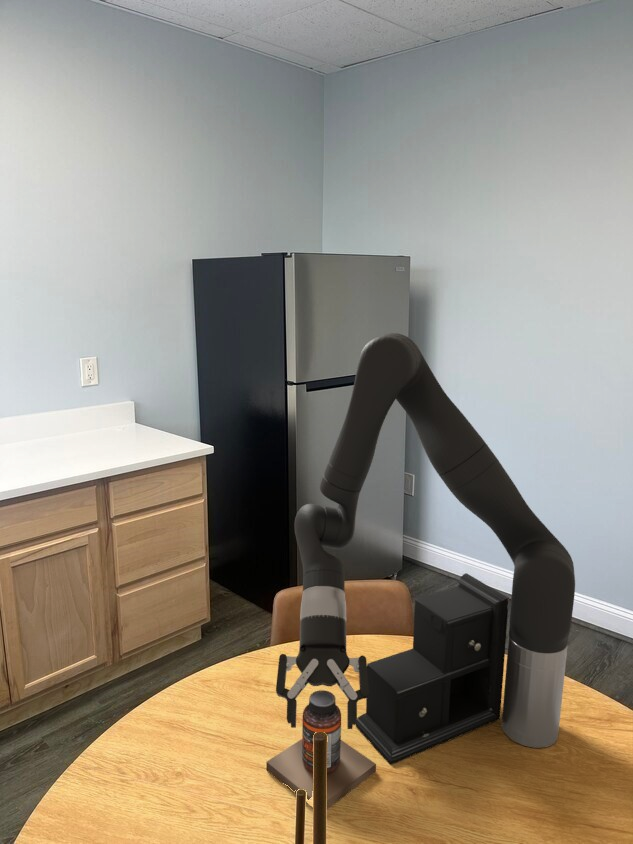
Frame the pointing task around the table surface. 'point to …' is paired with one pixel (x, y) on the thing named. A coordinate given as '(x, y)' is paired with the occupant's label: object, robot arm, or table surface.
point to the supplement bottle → (321, 728)
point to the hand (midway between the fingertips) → (321, 727)
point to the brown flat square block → (339, 781)
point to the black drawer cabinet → (440, 673)
